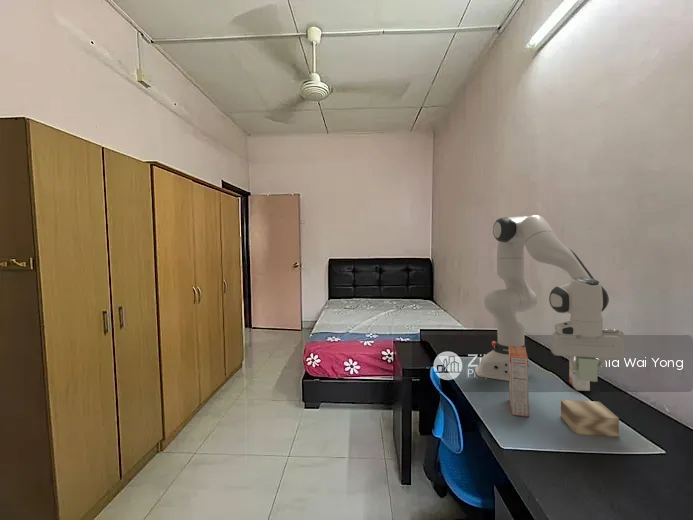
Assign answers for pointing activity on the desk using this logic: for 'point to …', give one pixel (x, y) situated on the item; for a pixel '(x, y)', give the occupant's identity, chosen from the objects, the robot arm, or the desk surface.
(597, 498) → the desk surface
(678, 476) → the desk surface
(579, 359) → the sage block
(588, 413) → the ash plinth
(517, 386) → the cracker box
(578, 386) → the ink cartridge box
